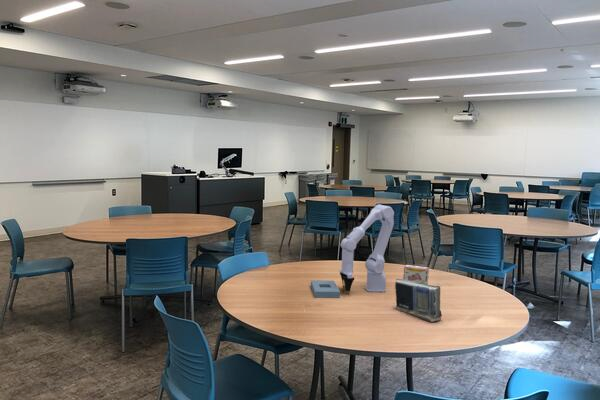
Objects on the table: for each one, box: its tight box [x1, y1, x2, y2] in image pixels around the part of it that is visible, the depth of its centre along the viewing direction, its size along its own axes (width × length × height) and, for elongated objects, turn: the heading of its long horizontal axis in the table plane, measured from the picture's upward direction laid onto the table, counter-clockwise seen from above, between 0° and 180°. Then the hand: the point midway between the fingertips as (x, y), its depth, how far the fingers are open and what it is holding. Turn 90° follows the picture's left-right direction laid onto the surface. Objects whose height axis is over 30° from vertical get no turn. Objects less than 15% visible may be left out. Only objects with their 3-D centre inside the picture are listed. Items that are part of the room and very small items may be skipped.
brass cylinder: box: [341, 279, 351, 294], centre depth 230 cm, size 4×4×6 cm
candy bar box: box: [402, 264, 430, 285], centre depth 219 cm, size 11×5×16 cm, turn 65°
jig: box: [310, 279, 341, 299], centre depth 229 cm, size 12×20×3 cm, turn 5°
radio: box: [392, 278, 443, 323], centre depth 200 cm, size 23×9×15 cm, turn 28°
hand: (346, 288), depth 230 cm, fingers open, 7 cm apart
